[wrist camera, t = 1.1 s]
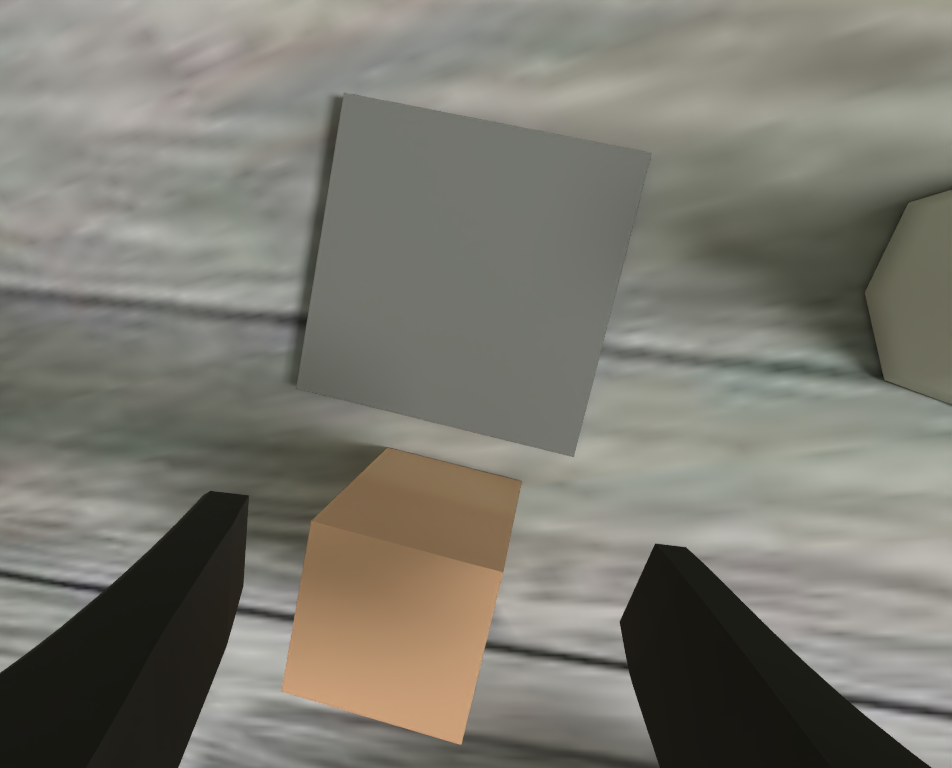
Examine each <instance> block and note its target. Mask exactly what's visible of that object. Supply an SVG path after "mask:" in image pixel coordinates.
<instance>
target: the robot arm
mask: <svg viewBox="0 0 952 768" xmlns="http://www.w3.org/2000/svg"><path fill="white" fill-rule="evenodd" d="M248 501H249V496H248V495H240V494H231V493H223V492H214V491H210V492H208V493H206V494H205V495H203V496H202V497H201V498H200V499H199V500H198V501H197V503H196V504H195V505H194V506H193V507H192V508H191V509H190V510H189V511H188V512H187V513H186V514H185V515H184V516H183V517H182V518H181V519H180V520H179V521H178V522H177V523H176V524H175V525H174V526H173V527H172V528H171V529H170V530H169V531H168V532H167V533H166V534H165V535H164V536H163V537H162V538H161V539H160V540H159V541H158V542H157V543H156V544H155V545H154V546H153V547H152V548H151V549H150V550H149V551H148V552H147V553H146V554H144V555H143V556H142V557H141V558H140V559H139V560H138V561H137V562H136V563H135V564H134V565H133V566H131V567H130V568H129V569H128V570H127V571H126V572H125V573H124V574H123V575H122V576H121V577H119V578H118V579H117V580H116V581H115V582H114V583H113V584H112V585H111V586H109V587H108V588H107V589H106V590H105V591H104V592H102V593H101V594H100V595H99V596H98V597H96V598H95V599H94V600H93V601H92V602H90V603H89V604H88V605H87V606H86V607H84V608H83V609H82V610H81V611H80V612H78V613H77V614H76V615H75V616H74V617H72V618H71V619H70V620H69V621H68V622H66V623H65V624H64V625H63V626H62V627H60V628H59V629H58V630H57V631H55V632H54V633H53V634H51V635H50V636H49V637H48V638H46V639H45V640H44V641H42V642H41V643H40V644H39V645H37V646H36V647H35V648H33V649H32V650H31V651H29V652H28V653H27V654H25V655H24V656H23V657H21V658H20V659H19V660H17V661H16V662H15V663H13V664H12V665H10V666H9V667H8V668H6V669H5V670H4V671H2V672H1V673H0V768H178V767H179V764H180V762H181V759H182V757H183V754H184V752H185V749H186V747H187V744H188V742H189V739H190V737H191V734H192V732H193V729H194V727H195V724H196V722H197V719H198V717H199V714H200V712H201V709H202V707H203V704H204V702H205V699H206V697H207V694H208V692H209V689H210V687H211V684H212V682H213V679H214V677H215V674H216V672H217V669H218V667H219V664H220V662H221V659H222V656H223V654H224V651H225V649H226V646H227V643H228V639H229V636H230V632H231V629H232V625H233V622H234V618H235V615H236V611H237V607H238V604H239V600H240V596H241V593H242V589H243V582H244V566H245V550H246V533H247V517H248ZM620 626H621V632H622V637H623V643H624V648H625V654H626V658H627V663H628V668H629V673H630V677H631V680H632V684H633V687H634V690H635V693H636V696H637V699H638V702H639V706H640V709H641V712H642V715H643V718H644V721H645V724H646V727H647V730H648V733H649V736H650V739H651V742H652V745H653V748H654V751H655V754H656V757H657V760H658V763H659V766H660V768H931V767H930V766H929V765H927V764H926V763H925V762H923V761H922V760H921V759H919V758H918V757H917V756H915V755H914V754H913V753H911V752H910V751H909V750H907V749H906V748H905V747H904V746H902V745H901V744H900V743H899V742H897V741H896V740H895V739H894V738H893V737H891V736H890V735H889V734H888V733H886V732H885V731H884V730H883V729H881V728H880V727H879V726H878V725H876V724H875V723H874V722H873V721H871V720H870V719H869V718H868V717H866V716H865V715H864V714H863V713H862V712H860V711H859V710H858V709H857V708H856V707H855V706H853V705H852V704H851V703H850V702H849V701H847V700H846V699H845V698H844V697H843V696H842V695H841V694H839V693H838V692H837V691H836V690H835V689H834V688H833V687H832V686H831V685H829V684H828V683H827V682H826V681H825V680H824V679H823V678H822V677H820V676H819V675H818V674H817V673H816V672H815V671H814V670H813V669H812V668H810V667H809V666H808V665H807V664H806V663H805V662H804V661H803V660H802V659H801V658H800V657H799V656H798V655H796V654H795V653H794V652H793V651H792V650H791V649H790V648H789V647H788V646H787V645H786V644H785V643H784V642H783V641H782V640H781V639H780V638H779V637H778V636H777V635H776V634H774V633H773V632H772V631H771V630H770V629H769V628H768V627H767V626H766V625H765V624H764V623H763V622H762V621H761V620H760V619H759V618H758V617H757V616H756V615H755V614H754V613H753V612H752V611H751V610H750V609H749V608H748V607H747V606H746V605H745V604H744V603H743V602H742V601H741V600H740V599H739V598H738V597H737V596H736V595H735V594H734V593H733V592H732V591H731V590H730V589H729V588H728V587H727V586H726V585H725V584H724V583H723V582H722V581H721V580H720V579H719V578H718V577H717V576H716V575H715V574H714V573H713V572H712V571H711V570H710V569H709V568H708V567H707V566H706V565H705V564H704V563H703V562H701V561H700V560H699V559H698V558H697V557H696V556H695V555H694V554H693V553H692V552H691V551H689V550H688V549H687V548H686V547H679V546H671V545H662V544H655V545H654V547H653V550H652V552H651V554H650V556H649V558H648V561H647V563H646V565H645V567H644V569H643V572H642V574H641V576H640V578H639V580H638V583H637V585H636V587H635V589H634V592H633V594H632V596H631V598H630V600H629V603H628V605H627V607H626V609H625V611H624V614H623V616H622V618H621V620H620Z"/></svg>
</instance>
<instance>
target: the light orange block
mask: <svg viewBox="0 0 952 768" xmlns="http://www.w3.org/2000/svg"><path fill="white" fill-rule="evenodd" d="M521 483H522V481H518V480H514V479H510V478H506V477H502V476H498V475H494V474H490V473H486V472H482V471H478V470H474V469H470V468H466V467H462V466H458V465H454V464H451V463H447V462H443V461H439V460H435V459H431V458H427V457H423V456H419V455H415V454H411V453H407V452H403V451H399V450H395V449H391V448H386V449H385V450H384V451H383V452H382V453H381V454H380V455H379V456H378V457H377V458H376V459H375V460H374V461H373V462H372V463H371V464H370V465H369V466H368V467H367V468H366V469H365V470H364V471H363V472H362V473H360V474H359V475H358V476H357V477H356V478H355V479H354V480H353V481H352V482H351V483H350V484H349V485H348V486H347V487H346V488H345V489H344V490H343V491H342V492H341V493H340V494H339V495H338V496H337V497H336V498H334V499H333V500H332V501H331V502H330V503H329V504H328V505H327V506H326V507H325V508H324V509H323V510H322V511H321V512H320V513H319V514H318V515H317V516H316V517H315V518H314V519H313V520H312V521H311V524H310V530H309V536H308V542H307V547H306V553H305V559H304V565H303V571H302V576H301V582H300V588H299V594H298V599H297V605H296V611H295V617H294V622H293V628H292V634H291V640H290V646H289V651H288V657H287V663H286V669H285V674H284V680H283V686H282V692H285V693H288V694H292V695H295V696H298V697H302V698H305V699H308V700H312V701H315V702H318V703H322V704H325V705H328V706H332V707H335V708H339V709H342V710H345V711H349V712H352V713H355V714H359V715H362V716H365V717H369V718H372V719H376V720H379V721H382V722H386V723H389V724H392V725H396V726H399V727H402V728H406V729H409V730H413V731H416V732H419V733H423V734H426V735H429V736H433V737H436V738H439V739H443V740H446V741H449V742H453V743H456V744H460V745H461V744H462V740H463V736H464V732H465V728H466V724H467V719H468V715H469V711H470V707H471V703H472V699H473V695H474V691H475V686H476V682H477V678H478V674H479V670H480V666H481V662H482V657H483V653H484V649H485V645H486V641H487V637H488V633H489V629H490V624H491V620H492V616H493V612H494V608H495V604H496V600H497V596H498V591H499V587H500V583H501V579H502V575H503V570H504V566H505V561H506V556H507V551H508V546H509V541H510V536H511V532H512V527H513V522H514V517H515V512H516V507H517V502H518V497H519V493H520V488H521Z"/></svg>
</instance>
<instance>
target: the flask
mask: <svg viewBox="0 0 952 768" xmlns="http://www.w3.org/2000/svg"><path fill="white" fill-rule="evenodd" d="M865 296H866V301H867V305H868V310H869V314H870V319H871V323H872V327H873V332H874V336H875V341H876V345H877V350H878V354H879V359H880V363H881V368H882V372H883V377H884V380H886V381H888V382H891V383H894V384H897V385H899V386H902V387H905V388H908V389H910V390H913V391H916V392H919V393H921V394H924V395H927V396H930V397H933V398H935V399H938V400H941V401H944V402H946V403H949V404H952V190H949V191H946V192H942V193H939V194H935V195H932V196H929V197H925V198H922V199H919V200H915V201H912V202H909V203H908V205H907V207H906V209H905V211H904V213H903V215H902V217H901V219H900V221H899V223H898V225H897V227H896V229H895V231H894V233H893V235H892V238H891V240H890V242H889V244H888V246H887V248H886V250H885V252H884V254H883V256H882V258H881V260H880V262H879V264H878V266H877V268H876V270H875V272H874V274H873V277H872V279H871V281H870V283H869V285H868V287H867V289H866V291H865Z"/></svg>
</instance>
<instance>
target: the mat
mask: <svg viewBox="0 0 952 768" xmlns="http://www.w3.org/2000/svg"><path fill="white" fill-rule="evenodd" d="M650 157H651V153H649V152H644V151H639V150H634V149H629V148H624V147H619V146H614V145H609V144H603V143H598V142H593V141H588V140H583V139H578V138H573V137H568V136H563V135H558V134H552V133H547V132H542V131H537V130H532V129H527V128H522V127H517V126H512V125H507V124H502V123H496V122H491V121H486V120H481V119H476V118H471V117H466V116H461V115H456V114H451V113H445V112H440V111H435V110H430V109H425V108H420V107H415V106H410V105H405V104H400V103H394V102H389V101H384V100H379V99H374V98H369V97H364V96H359V95H354V94H349V93H344V95H343V101H342V107H341V114H340V120H339V126H338V132H337V138H336V145H335V151H334V157H333V163H332V169H331V176H330V182H329V188H328V194H327V200H326V207H325V213H324V219H323V225H322V231H321V238H320V244H319V250H318V256H317V263H316V269H315V275H314V281H313V287H312V294H311V300H310V306H309V312H308V318H307V325H306V331H305V337H304V343H303V349H302V356H301V362H300V368H299V374H298V380H297V387H296V389H300V390H304V391H308V392H312V393H316V394H320V395H324V396H329V397H333V398H337V399H341V400H345V401H349V402H353V403H357V404H361V405H365V406H369V407H373V408H377V409H381V410H385V411H389V412H393V413H397V414H401V415H406V416H410V417H414V418H418V419H422V420H426V421H430V422H434V423H438V424H442V425H446V426H450V427H454V428H458V429H462V430H466V431H470V432H474V433H478V434H483V435H487V436H491V437H495V438H499V439H503V440H507V441H511V442H515V443H519V444H523V445H527V446H531V447H535V448H539V449H543V450H547V451H551V452H556V453H560V454H564V455H568V456H572V457H574V454H575V450H576V446H577V442H578V438H579V434H580V430H581V427H582V423H583V419H584V415H585V411H586V407H587V403H588V399H589V395H590V391H591V388H592V384H593V380H594V376H595V372H596V368H597V364H598V360H599V356H600V352H601V348H602V345H603V341H604V337H605V333H606V329H607V325H608V321H609V317H610V313H611V309H612V306H613V302H614V298H615V294H616V290H617V286H618V282H619V278H620V274H621V270H622V267H623V263H624V259H625V255H626V251H627V247H628V243H629V239H630V235H631V231H632V228H633V224H634V220H635V216H636V212H637V208H638V204H639V200H640V196H641V192H642V189H643V185H644V181H645V177H646V173H647V169H648V165H649V161H650Z"/></svg>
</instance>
